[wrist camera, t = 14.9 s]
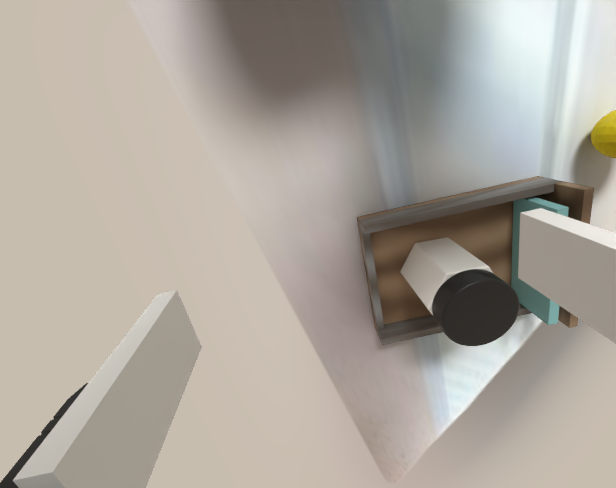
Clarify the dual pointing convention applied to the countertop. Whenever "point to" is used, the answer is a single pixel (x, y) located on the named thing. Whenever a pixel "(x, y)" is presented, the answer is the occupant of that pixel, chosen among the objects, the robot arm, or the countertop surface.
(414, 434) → the countertop surface
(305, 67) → the countertop surface
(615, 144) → the fruit
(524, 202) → the panel
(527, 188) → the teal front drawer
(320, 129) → the countertop surface
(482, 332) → the jar
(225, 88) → the countertop surface
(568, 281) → the robot arm
